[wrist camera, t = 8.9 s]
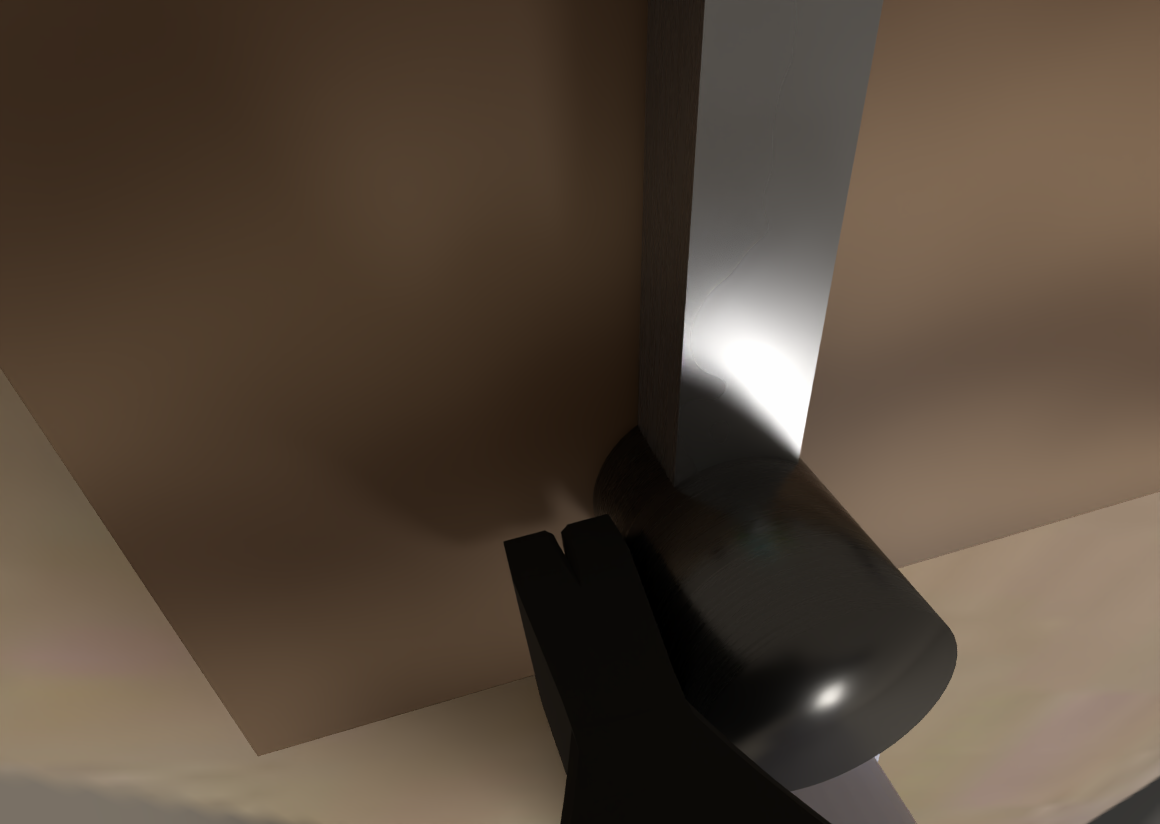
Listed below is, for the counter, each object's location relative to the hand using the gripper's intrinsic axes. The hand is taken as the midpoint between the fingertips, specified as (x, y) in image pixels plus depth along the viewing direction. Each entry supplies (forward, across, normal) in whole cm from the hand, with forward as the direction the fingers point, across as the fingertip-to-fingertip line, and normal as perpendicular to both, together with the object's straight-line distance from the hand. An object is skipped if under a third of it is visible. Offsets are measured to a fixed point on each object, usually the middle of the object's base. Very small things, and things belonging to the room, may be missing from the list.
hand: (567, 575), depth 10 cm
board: (+3, -4, -7) cm, 9 cm away
